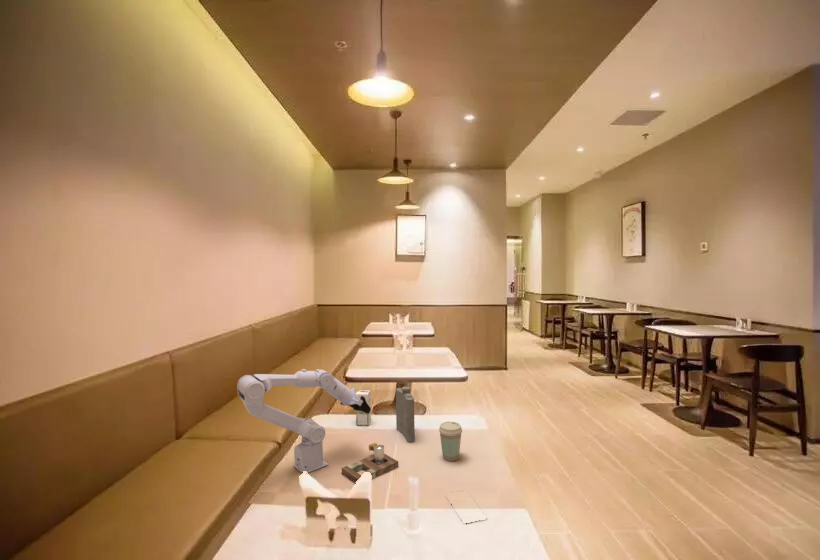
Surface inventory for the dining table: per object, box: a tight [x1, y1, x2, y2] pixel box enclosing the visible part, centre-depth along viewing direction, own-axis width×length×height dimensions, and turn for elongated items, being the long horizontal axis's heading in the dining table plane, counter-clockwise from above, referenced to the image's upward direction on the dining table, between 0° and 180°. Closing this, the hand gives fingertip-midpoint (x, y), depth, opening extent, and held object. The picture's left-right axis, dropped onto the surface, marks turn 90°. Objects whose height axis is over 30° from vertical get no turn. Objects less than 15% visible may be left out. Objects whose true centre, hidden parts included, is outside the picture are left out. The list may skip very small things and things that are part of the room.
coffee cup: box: [438, 421, 463, 462], centre depth 149 cm, size 8×8×12 cm
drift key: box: [368, 442, 378, 453], centre depth 151 cm, size 3×5×2 cm, turn 42°
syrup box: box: [355, 389, 372, 427], centre depth 181 cm, size 6×6×14 cm
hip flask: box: [395, 386, 416, 444], centre depth 169 cm, size 16×4×20 cm, turn 21°
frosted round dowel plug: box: [374, 444, 385, 465], centre depth 144 cm, size 3×3×7 cm
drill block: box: [341, 453, 399, 484], centre depth 141 cm, size 17×10×2 cm, turn 132°
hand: (363, 409), depth 158 cm, fingers open, 7 cm apart
